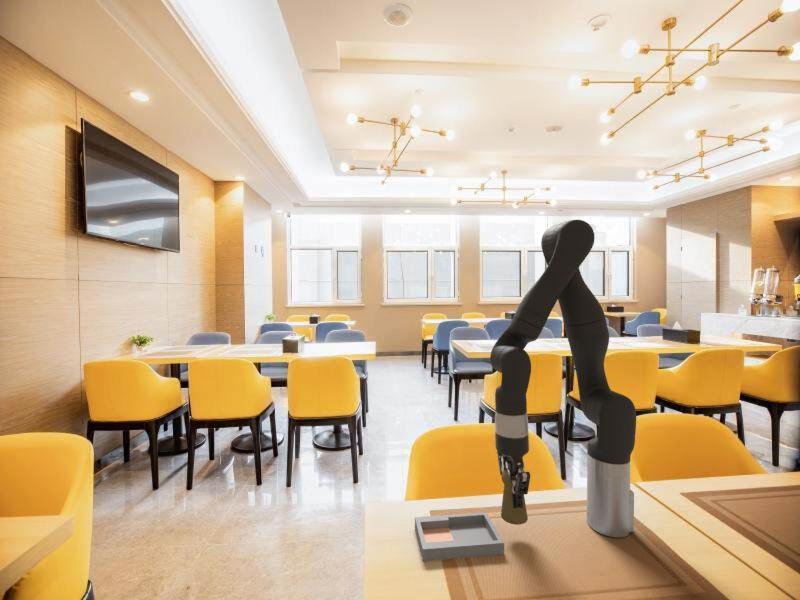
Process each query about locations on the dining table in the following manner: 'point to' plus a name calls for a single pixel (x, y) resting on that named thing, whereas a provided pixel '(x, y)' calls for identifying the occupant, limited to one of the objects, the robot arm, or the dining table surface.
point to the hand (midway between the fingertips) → (513, 502)
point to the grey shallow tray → (457, 536)
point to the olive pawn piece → (511, 504)
